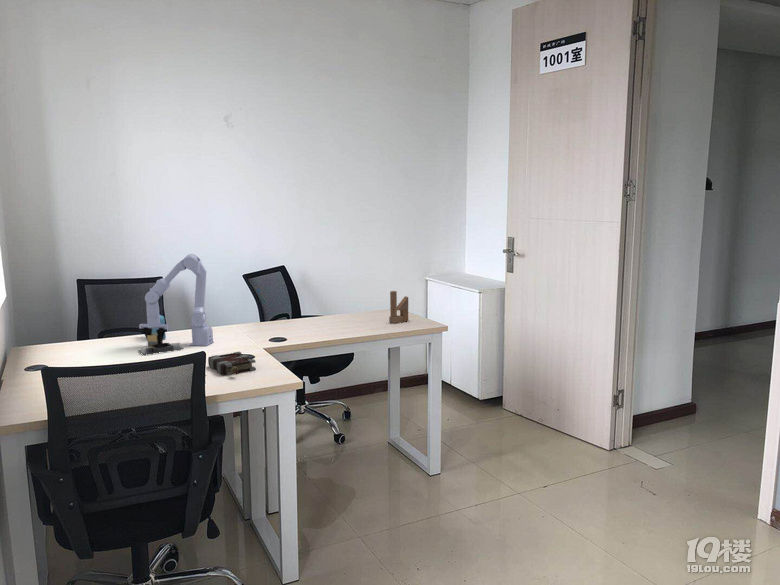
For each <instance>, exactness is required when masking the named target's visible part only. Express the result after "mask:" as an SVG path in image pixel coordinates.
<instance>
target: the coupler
mask: <svg viewBox="0 0 780 585" xmlns="http://www.w3.org/2000/svg"><path fill="white" fill-rule="evenodd" d="M146 340H148V341H147V347H149V345H153V344H159V342H158V334H157V333H152V334H149V335H147V338H146ZM163 341H164V340H163ZM163 341H162V343H164V342H163Z"/></svg>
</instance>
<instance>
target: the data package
mask: <svg viewBox="0 0 780 585" xmlns="http://www.w3.org/2000/svg"><path fill="white" fill-rule="evenodd" d="M165 322H166V321H165V316H164V315H161V314H160V324H166V323H165ZM156 330H158V329H152V333H157V331H156ZM166 338H167V335H166V333H165V334H164V337H163V340H165V339H166Z"/></svg>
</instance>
